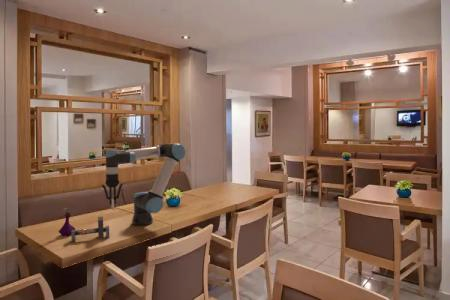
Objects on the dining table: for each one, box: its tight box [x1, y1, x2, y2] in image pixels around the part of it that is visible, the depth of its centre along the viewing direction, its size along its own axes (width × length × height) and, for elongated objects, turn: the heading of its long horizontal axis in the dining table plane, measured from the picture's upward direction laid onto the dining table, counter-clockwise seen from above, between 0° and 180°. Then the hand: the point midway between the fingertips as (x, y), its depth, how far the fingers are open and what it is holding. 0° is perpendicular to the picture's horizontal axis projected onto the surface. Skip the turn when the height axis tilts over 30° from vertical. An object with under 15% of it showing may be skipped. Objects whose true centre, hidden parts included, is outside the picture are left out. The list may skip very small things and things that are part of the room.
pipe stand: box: [71, 225, 110, 243], centre depth 200 cm, size 22×5×7 cm, turn 112°
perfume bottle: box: [58, 208, 76, 237], centre depth 208 cm, size 8×8×18 cm
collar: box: [97, 216, 105, 239], centre depth 202 cm, size 3×9×12 cm, turn 22°
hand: (112, 209), depth 204 cm, fingers closed
